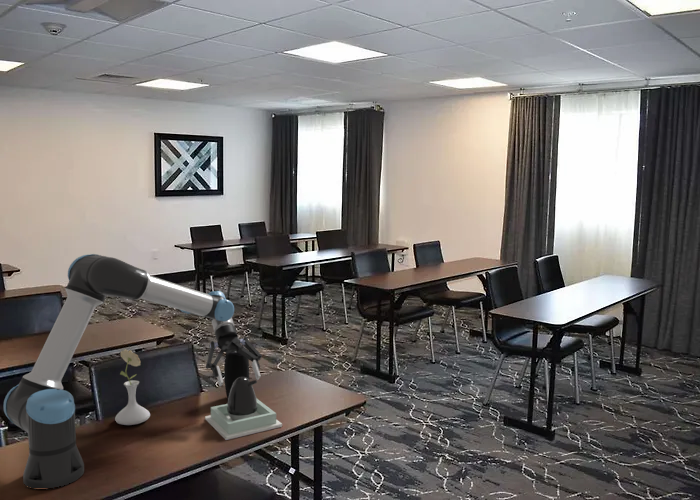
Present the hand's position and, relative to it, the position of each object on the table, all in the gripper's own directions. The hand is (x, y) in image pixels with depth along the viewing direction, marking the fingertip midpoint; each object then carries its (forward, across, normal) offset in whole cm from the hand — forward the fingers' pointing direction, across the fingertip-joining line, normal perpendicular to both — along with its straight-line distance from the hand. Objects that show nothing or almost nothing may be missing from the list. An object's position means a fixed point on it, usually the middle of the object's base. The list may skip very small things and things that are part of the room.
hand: (240, 381), depth 201 cm
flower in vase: (-3, +32, -23) cm, 40 cm away
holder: (+12, 0, -8) cm, 14 cm away
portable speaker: (-4, -6, -24) cm, 25 cm away
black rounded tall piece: (+11, 0, -7) cm, 13 cm away
